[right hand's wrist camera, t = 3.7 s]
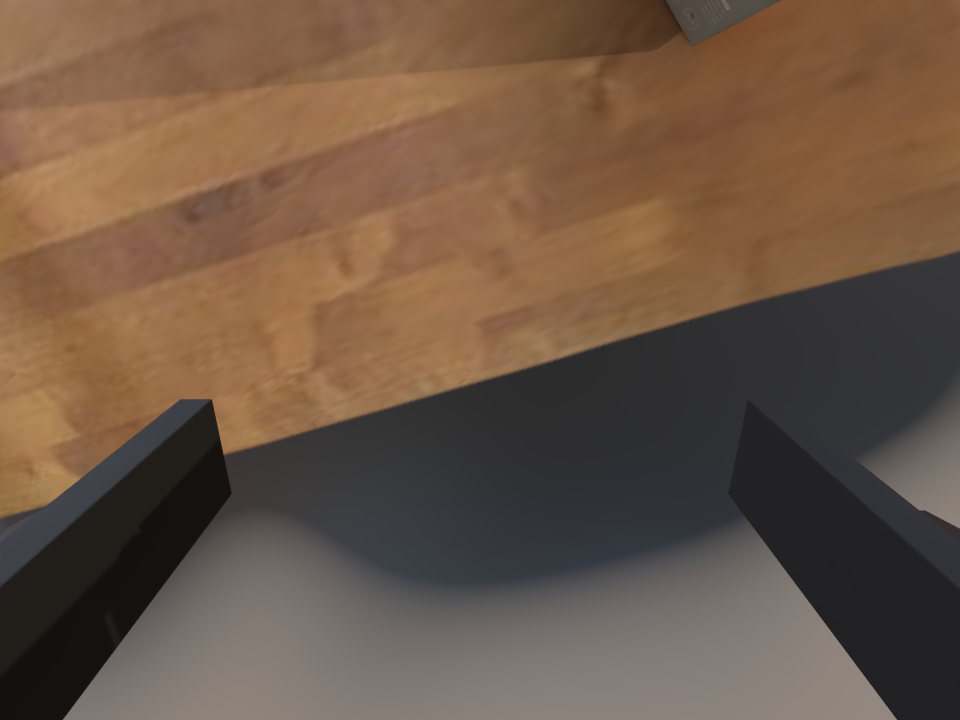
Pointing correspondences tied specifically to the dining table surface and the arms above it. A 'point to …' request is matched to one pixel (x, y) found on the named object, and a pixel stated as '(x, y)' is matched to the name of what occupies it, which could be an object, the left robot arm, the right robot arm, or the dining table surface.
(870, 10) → the dining table surface
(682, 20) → the hard drive box
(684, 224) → the dining table surface
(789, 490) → the right robot arm
